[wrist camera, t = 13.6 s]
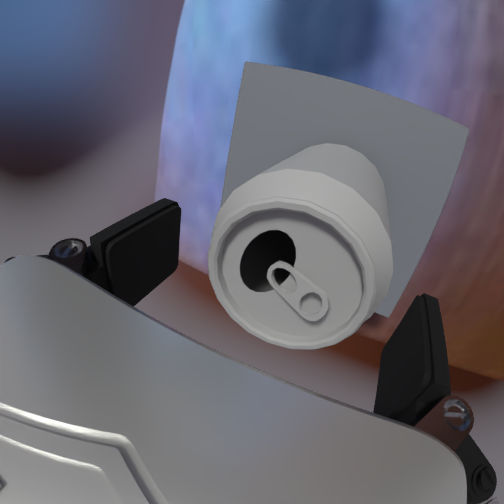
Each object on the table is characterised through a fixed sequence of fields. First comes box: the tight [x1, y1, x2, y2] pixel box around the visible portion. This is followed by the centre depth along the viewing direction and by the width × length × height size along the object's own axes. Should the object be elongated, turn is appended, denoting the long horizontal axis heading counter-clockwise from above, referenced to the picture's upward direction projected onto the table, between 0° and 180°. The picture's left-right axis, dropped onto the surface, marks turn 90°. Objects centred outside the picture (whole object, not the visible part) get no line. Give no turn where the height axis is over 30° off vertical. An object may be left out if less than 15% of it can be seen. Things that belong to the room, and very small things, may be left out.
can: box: [207, 143, 393, 350], centre depth 15 cm, size 8×8×12 cm
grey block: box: [220, 62, 469, 317], centre depth 22 cm, size 16×16×5 cm
